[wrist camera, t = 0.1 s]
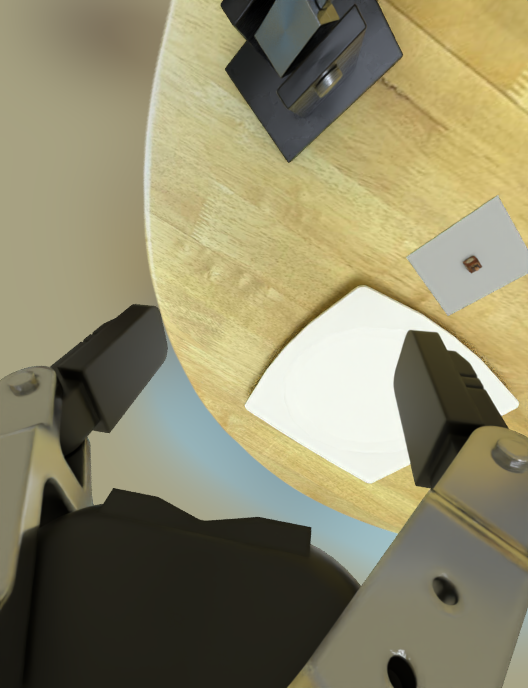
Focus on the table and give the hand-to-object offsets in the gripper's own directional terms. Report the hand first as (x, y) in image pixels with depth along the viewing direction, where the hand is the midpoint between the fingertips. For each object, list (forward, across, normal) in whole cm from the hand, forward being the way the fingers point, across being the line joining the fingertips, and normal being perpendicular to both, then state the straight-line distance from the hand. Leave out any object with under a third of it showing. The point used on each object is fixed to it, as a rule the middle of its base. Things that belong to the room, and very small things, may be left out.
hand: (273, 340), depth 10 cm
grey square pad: (+23, -15, +4) cm, 27 cm away
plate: (+23, -8, +21) cm, 32 cm away
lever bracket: (+23, +1, -10) cm, 25 cm away
